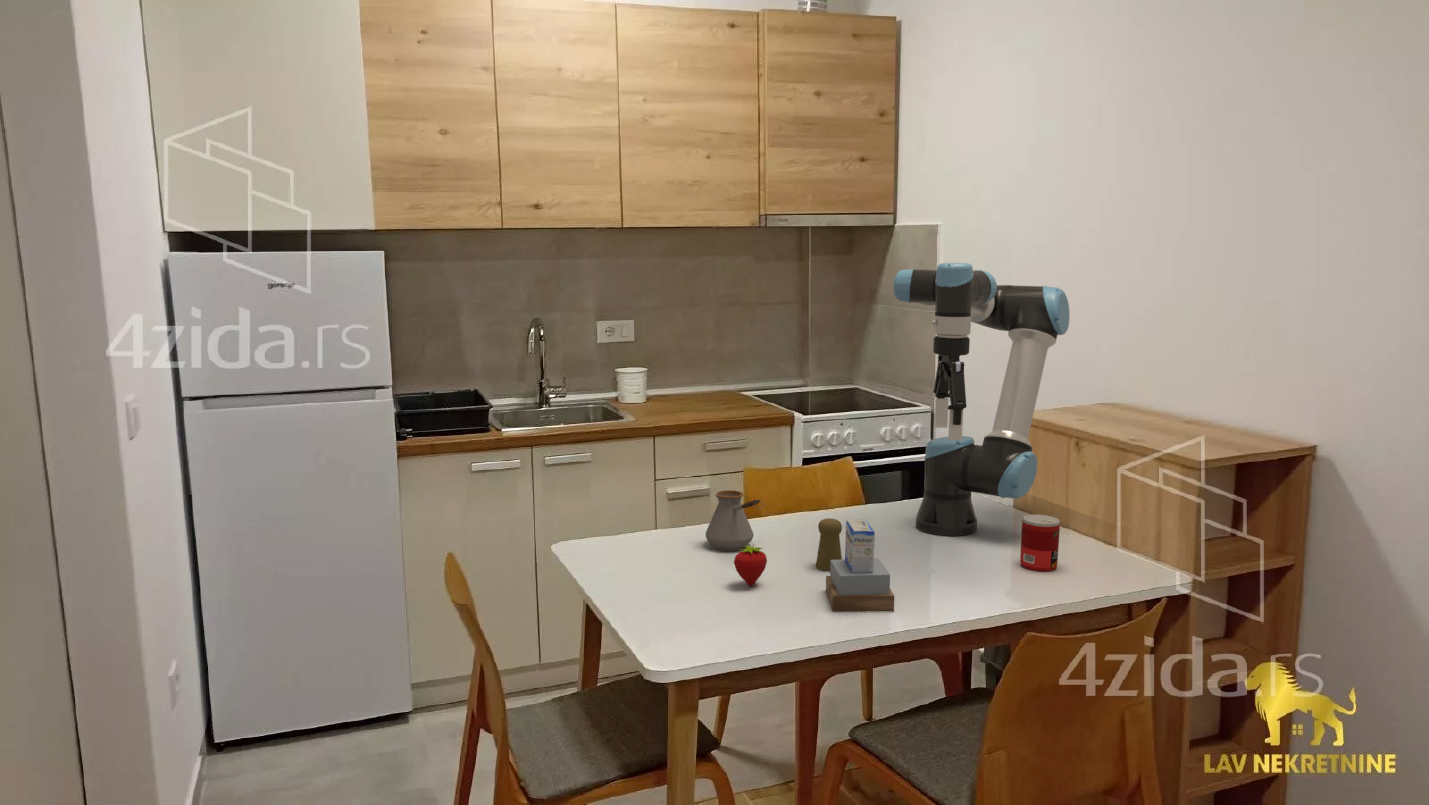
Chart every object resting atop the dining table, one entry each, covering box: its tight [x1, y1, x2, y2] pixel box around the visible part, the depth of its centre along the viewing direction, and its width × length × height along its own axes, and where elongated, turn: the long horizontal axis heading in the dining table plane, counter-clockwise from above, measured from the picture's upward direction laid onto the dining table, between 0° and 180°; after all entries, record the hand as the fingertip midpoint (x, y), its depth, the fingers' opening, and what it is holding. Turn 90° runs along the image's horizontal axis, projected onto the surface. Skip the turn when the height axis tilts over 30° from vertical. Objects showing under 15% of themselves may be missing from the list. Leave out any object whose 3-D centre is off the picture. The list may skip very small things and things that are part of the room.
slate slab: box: [829, 558, 891, 595], centre depth 206 cm, size 10×10×4 cm
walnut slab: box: [825, 575, 895, 613], centre depth 207 cm, size 12×12×4 cm
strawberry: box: [733, 540, 768, 587], centre depth 215 cm, size 6×8×10 cm
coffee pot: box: [705, 490, 765, 552], centre depth 237 cm, size 21×12×15 cm, turn 25°
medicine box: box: [844, 519, 876, 573], centre depth 205 cm, size 8×4×9 cm, turn 4°
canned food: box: [1019, 514, 1061, 573], centre depth 228 cm, size 8×8×11 cm
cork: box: [815, 518, 843, 573], centre depth 227 cm, size 6×6×11 cm
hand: (947, 433), depth 221 cm, fingers open, 13 cm apart
